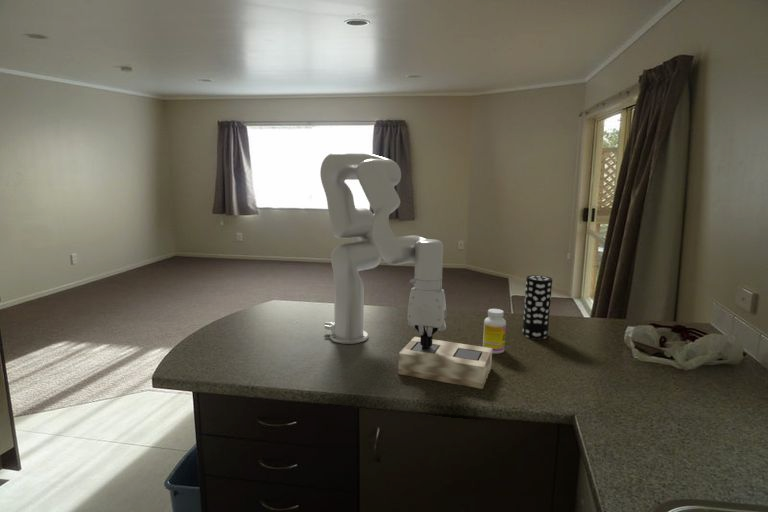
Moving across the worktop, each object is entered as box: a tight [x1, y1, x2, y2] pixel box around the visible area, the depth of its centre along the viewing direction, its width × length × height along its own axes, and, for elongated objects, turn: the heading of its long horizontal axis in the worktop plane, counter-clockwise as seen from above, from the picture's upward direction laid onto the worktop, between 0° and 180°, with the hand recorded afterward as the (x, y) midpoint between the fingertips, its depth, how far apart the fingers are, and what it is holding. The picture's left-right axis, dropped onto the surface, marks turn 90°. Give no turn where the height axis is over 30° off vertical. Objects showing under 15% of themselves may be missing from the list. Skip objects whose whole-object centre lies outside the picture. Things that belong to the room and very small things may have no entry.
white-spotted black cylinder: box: [522, 274, 553, 340], centre depth 162 cm, size 8×8×20 cm
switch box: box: [397, 336, 493, 390], centre depth 133 cm, size 23×14×6 cm, turn 69°
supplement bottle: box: [482, 308, 507, 355], centre depth 148 cm, size 7×7×13 cm
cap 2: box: [455, 349, 481, 361], centre depth 131 cm, size 6×6×4 cm
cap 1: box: [412, 343, 439, 354], centre depth 135 cm, size 6×6×4 cm
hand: (426, 347), depth 134 cm, fingers closed
